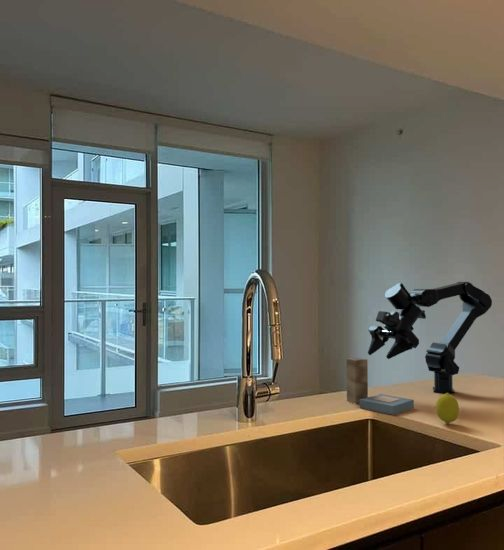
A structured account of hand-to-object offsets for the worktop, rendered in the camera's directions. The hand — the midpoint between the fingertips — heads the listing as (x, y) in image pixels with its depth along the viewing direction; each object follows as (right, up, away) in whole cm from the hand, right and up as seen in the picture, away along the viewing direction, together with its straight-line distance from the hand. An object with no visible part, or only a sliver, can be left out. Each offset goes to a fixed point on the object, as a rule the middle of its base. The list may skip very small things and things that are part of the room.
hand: (377, 356), depth 161 cm
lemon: (+11, -13, -29) cm, 34 cm away
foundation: (0, -13, -12) cm, 18 cm away
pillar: (-7, -13, -3) cm, 15 cm away
